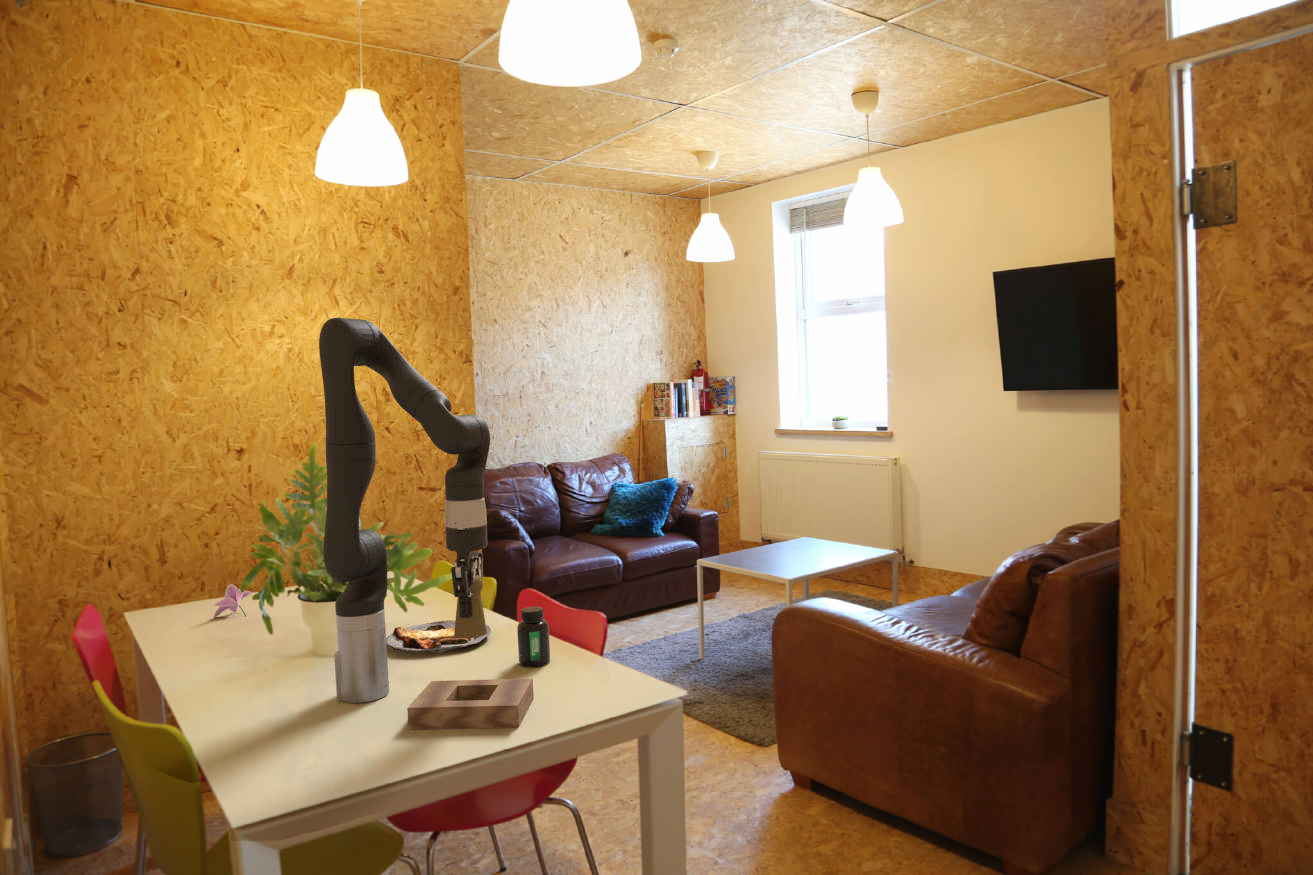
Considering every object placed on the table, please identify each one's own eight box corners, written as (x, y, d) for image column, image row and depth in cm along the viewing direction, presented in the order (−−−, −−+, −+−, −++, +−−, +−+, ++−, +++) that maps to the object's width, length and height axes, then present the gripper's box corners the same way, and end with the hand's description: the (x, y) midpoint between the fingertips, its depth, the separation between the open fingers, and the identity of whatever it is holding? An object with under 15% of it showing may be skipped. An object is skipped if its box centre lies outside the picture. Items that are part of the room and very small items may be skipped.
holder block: (408, 729, 153) (407, 707, 153) (432, 700, 167) (431, 680, 167) (518, 727, 152) (517, 705, 152) (533, 698, 166) (532, 678, 166)
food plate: (383, 662, 193) (383, 646, 193) (385, 635, 215) (385, 621, 215) (495, 651, 200) (495, 636, 200) (486, 626, 222) (486, 613, 222)
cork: (454, 639, 155) (452, 580, 155) (453, 630, 161) (451, 573, 160) (488, 636, 157) (486, 577, 156) (485, 627, 163) (483, 570, 162)
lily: (260, 611, 249) (244, 583, 249) (268, 602, 240) (251, 573, 240) (219, 633, 241) (203, 603, 242) (225, 624, 232) (208, 594, 233)
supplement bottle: (541, 668, 184) (539, 614, 183) (513, 666, 186) (510, 612, 185) (555, 658, 190) (552, 605, 190) (528, 656, 192) (525, 604, 192)
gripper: (456, 517, 165) (460, 604, 166) (434, 530, 151) (438, 625, 152) (495, 516, 165) (498, 603, 166) (476, 529, 150) (480, 624, 151)
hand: (469, 613), depth 159 cm, fingers closed on cork, 4 cm apart
